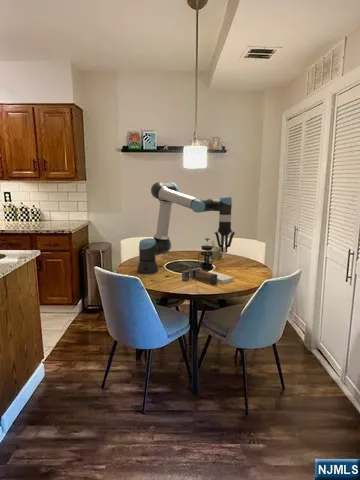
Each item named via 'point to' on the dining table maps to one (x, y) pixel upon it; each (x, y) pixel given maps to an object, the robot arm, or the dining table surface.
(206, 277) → the bar
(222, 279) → the table-top board
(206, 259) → the french press
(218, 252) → the tissue box
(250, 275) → the dining table surface
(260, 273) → the dining table surface
